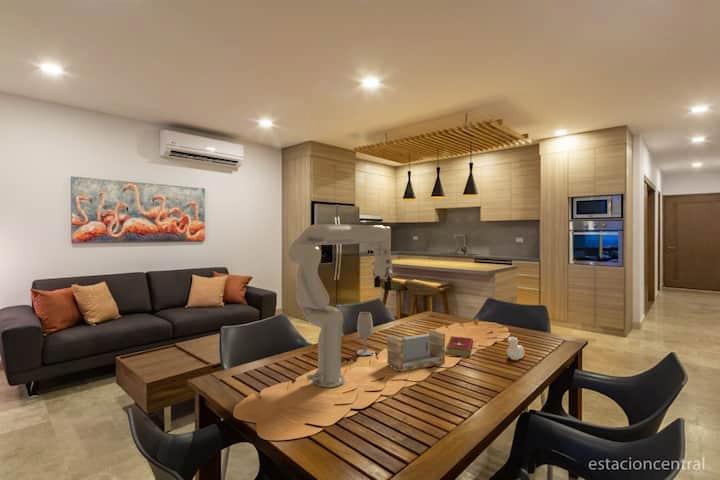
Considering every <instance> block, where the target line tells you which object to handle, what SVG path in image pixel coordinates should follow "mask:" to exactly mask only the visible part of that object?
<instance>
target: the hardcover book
mask: <svg viewBox="0 0 720 480" xmlns="http://www.w3.org/2000/svg"><path fill="white" fill-rule="evenodd" d="M473 344H474V340H473V338H472V337H463V336H453V335H451V336H450V337H449V340H448V342H447V344H446V345H445V348H446V354H447V353H450V354H449V355H456V354H458V355H457V356H467V357H471V353H472V349H473Z"/></svg>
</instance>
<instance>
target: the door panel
mask: <svg viewBox="0 0 720 480" xmlns="http://www.w3.org/2000/svg"><path fill="white" fill-rule="evenodd" d="M401 340H403V362H406V361H411V360H416V359H422V358H427V357H430V335H429V334H427V333H425V334H418V335H412V336H411V335H410V336H405V337H404V336H403V337H402V338H401Z"/></svg>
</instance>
